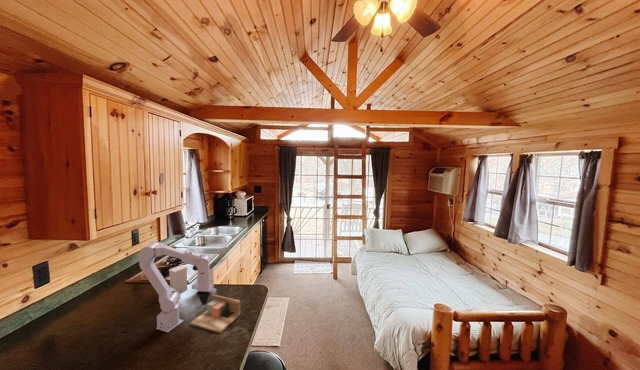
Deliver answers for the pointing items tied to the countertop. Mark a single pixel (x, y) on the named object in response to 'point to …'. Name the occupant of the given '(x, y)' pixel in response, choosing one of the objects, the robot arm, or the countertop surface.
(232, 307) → the shelf
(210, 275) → the ink cartridge box
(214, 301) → the sage green block
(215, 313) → the salmon orange block
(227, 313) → the bookend
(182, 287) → the skincare box
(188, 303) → the countertop surface
